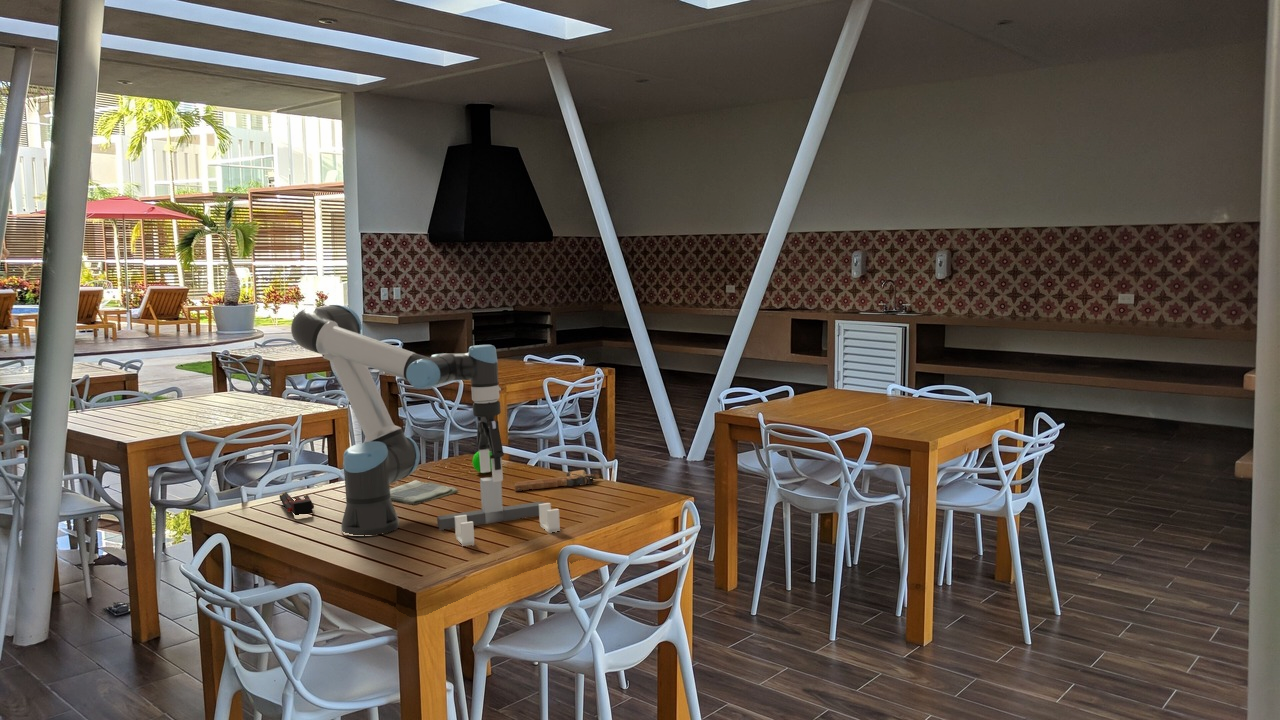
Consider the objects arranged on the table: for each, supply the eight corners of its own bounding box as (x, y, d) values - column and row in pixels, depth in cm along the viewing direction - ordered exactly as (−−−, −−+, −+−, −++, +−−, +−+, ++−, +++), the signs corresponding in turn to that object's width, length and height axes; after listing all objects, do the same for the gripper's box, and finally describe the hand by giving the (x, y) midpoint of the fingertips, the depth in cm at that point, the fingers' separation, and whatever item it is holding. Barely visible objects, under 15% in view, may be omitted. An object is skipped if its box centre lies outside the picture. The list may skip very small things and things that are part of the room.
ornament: (500, 470, 324) (499, 442, 323) (490, 476, 316) (488, 447, 315) (479, 470, 326) (478, 442, 325) (468, 475, 319) (467, 446, 318)
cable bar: (440, 530, 253) (437, 487, 251) (437, 526, 256) (435, 484, 255) (546, 514, 264) (544, 473, 263) (542, 511, 268) (539, 470, 267)
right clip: (549, 533, 246) (548, 511, 245) (539, 525, 254) (538, 504, 253) (560, 531, 247) (559, 509, 246) (550, 524, 255) (549, 502, 254)
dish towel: (413, 507, 281) (413, 496, 281) (376, 499, 292) (376, 489, 291) (460, 493, 296) (459, 483, 295) (423, 487, 306) (422, 477, 306)
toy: (277, 505, 295) (291, 521, 269) (275, 489, 295) (289, 504, 268) (305, 500, 299) (321, 516, 273) (303, 485, 299) (319, 499, 272)
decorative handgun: (509, 476, 306) (515, 484, 291) (592, 467, 313) (602, 474, 299) (509, 486, 306) (516, 494, 291) (593, 476, 313) (603, 484, 299)
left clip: (462, 546, 237) (461, 523, 236) (455, 538, 245) (454, 516, 244) (474, 545, 238) (473, 522, 237) (467, 536, 246) (465, 514, 245)
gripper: (511, 404, 247) (517, 483, 249) (488, 394, 270) (493, 466, 272) (483, 407, 244) (489, 487, 246) (462, 397, 267) (467, 470, 269)
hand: (491, 476), depth 259 cm, fingers open, 13 cm apart
